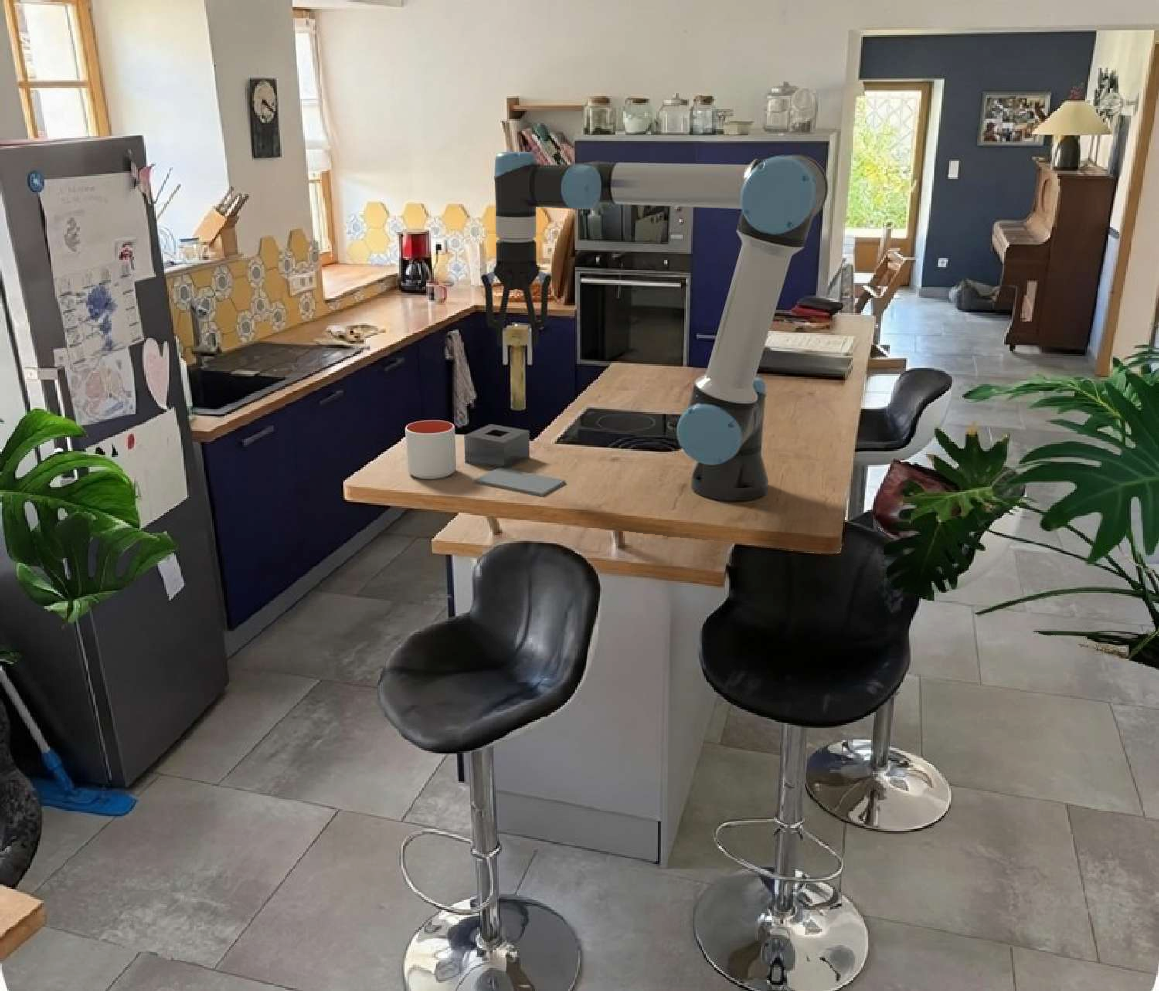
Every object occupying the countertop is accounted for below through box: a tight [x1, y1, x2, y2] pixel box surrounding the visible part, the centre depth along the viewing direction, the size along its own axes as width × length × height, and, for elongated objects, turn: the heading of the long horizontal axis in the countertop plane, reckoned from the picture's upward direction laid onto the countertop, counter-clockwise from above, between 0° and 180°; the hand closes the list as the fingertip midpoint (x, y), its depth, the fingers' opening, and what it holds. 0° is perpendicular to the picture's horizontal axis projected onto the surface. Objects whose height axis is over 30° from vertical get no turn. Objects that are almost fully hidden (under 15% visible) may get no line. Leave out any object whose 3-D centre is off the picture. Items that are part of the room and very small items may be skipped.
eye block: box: [463, 423, 530, 469], centre depth 219 cm, size 10×10×6 cm
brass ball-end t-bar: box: [505, 323, 529, 411], centre depth 198 cm, size 13×4×16 cm, turn 1°
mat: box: [474, 467, 566, 497], centre depth 206 cm, size 16×9×1 cm, turn 61°
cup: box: [404, 419, 457, 480], centre depth 210 cm, size 10×10×10 cm
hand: (517, 362), depth 198 cm, fingers closed on brass ball-end t-bar, 4 cm apart
